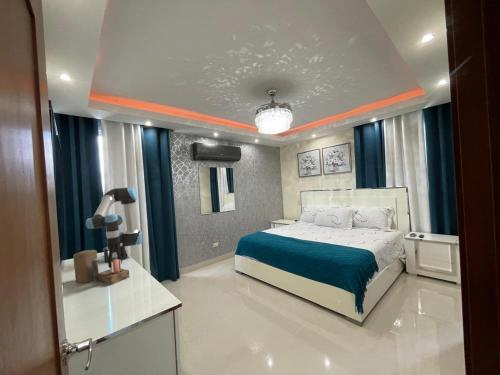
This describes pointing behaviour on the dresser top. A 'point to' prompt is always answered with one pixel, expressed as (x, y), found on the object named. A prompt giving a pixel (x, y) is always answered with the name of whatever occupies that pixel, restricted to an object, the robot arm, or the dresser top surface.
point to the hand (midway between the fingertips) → (116, 270)
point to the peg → (115, 266)
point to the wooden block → (84, 265)
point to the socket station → (108, 272)
